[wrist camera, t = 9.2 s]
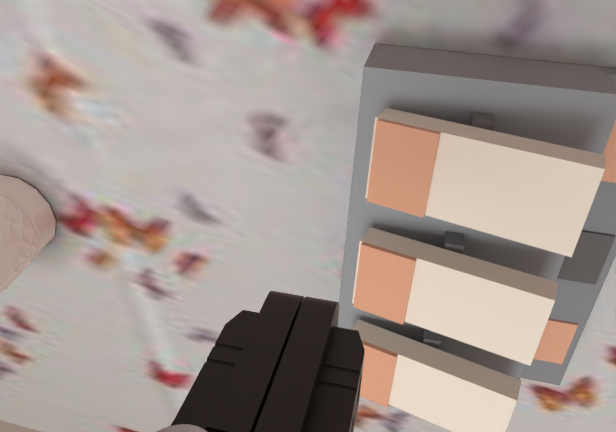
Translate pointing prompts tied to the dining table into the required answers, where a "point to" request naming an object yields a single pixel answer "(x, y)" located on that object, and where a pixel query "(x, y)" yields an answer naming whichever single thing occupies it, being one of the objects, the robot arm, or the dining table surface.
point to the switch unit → (510, 120)
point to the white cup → (21, 227)
